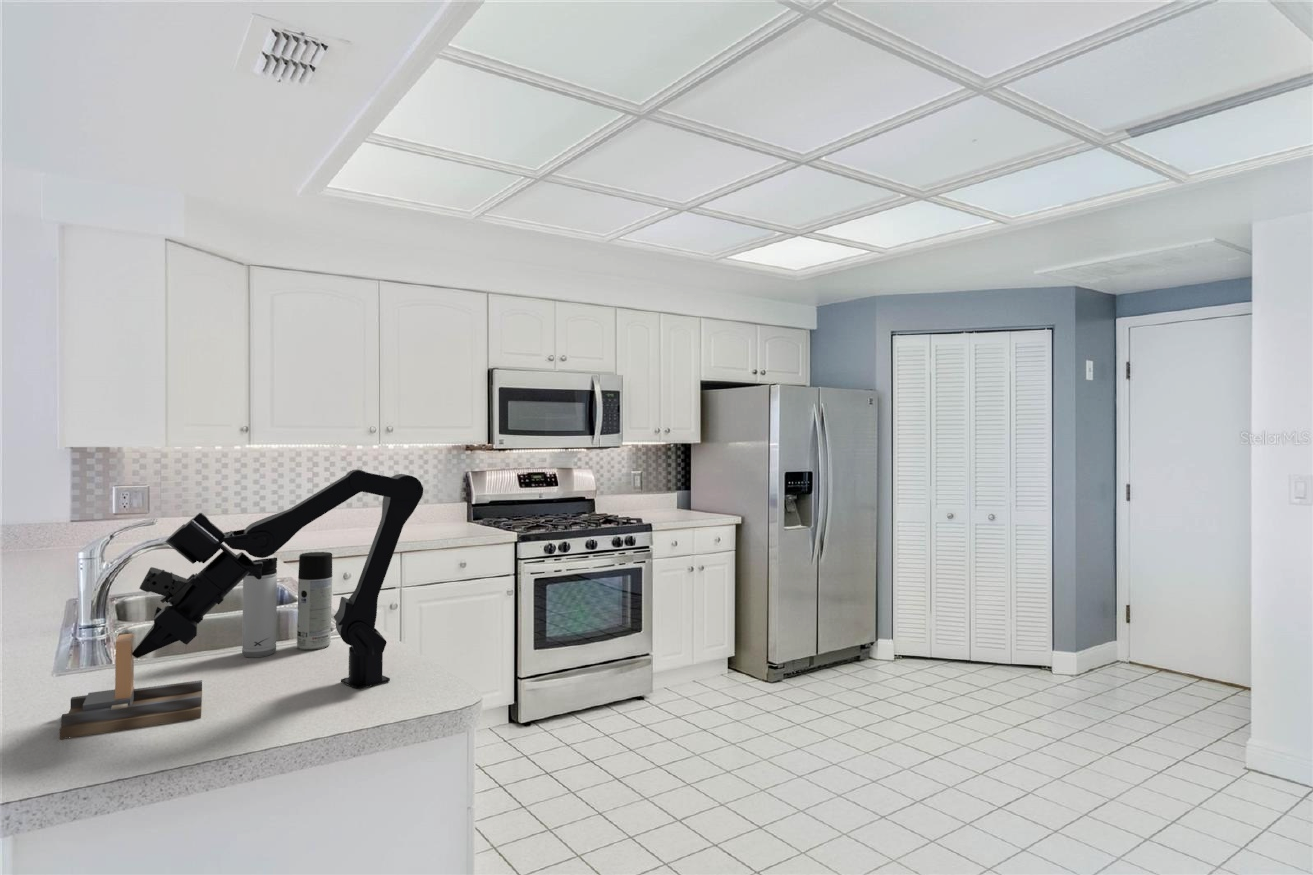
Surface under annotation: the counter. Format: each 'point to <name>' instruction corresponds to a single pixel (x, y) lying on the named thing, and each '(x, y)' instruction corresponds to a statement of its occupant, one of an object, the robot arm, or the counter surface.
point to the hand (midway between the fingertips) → (134, 655)
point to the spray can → (314, 600)
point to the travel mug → (260, 611)
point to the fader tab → (117, 678)
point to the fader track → (135, 710)
